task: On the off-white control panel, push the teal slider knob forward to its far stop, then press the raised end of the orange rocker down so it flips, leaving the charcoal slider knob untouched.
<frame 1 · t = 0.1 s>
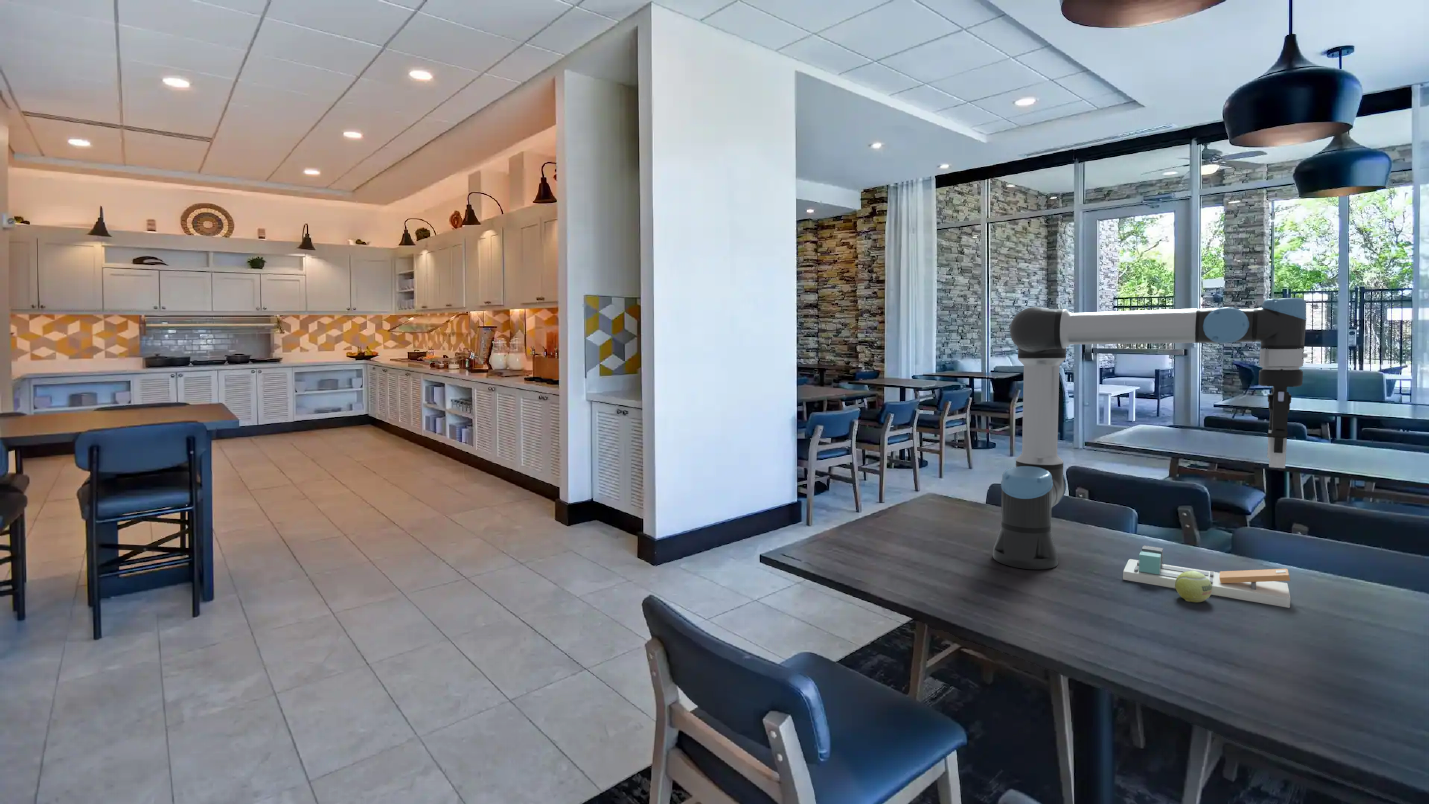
hand: (1275, 463, 153), 28 cm above the table, fingers open, 13 cm apart
teal slider: (1149, 562, 158), point 4 cm above the table, slide at 0.0 cm
tennis ball: (1192, 600, 147), on the table
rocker: (1253, 575, 149), point 4 cm above the table, hinge at -14.0°
panel: (1202, 585, 155), on the table
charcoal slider: (1152, 556, 163), point 4 cm above the table, slide at 0.0 cm
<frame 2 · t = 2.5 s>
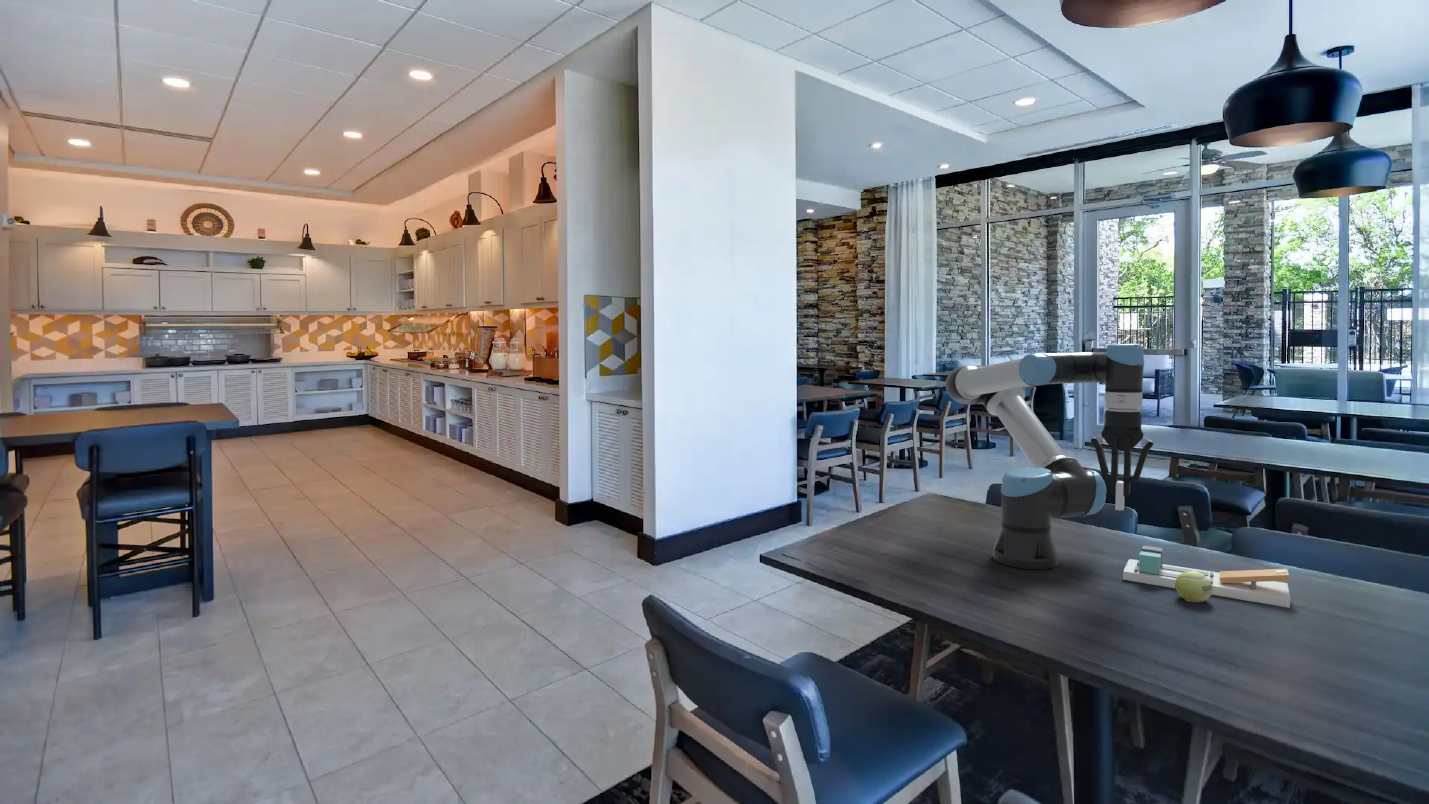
hand: (1119, 508, 161), 16 cm above the table, fingers closed
nothing on the table moved.
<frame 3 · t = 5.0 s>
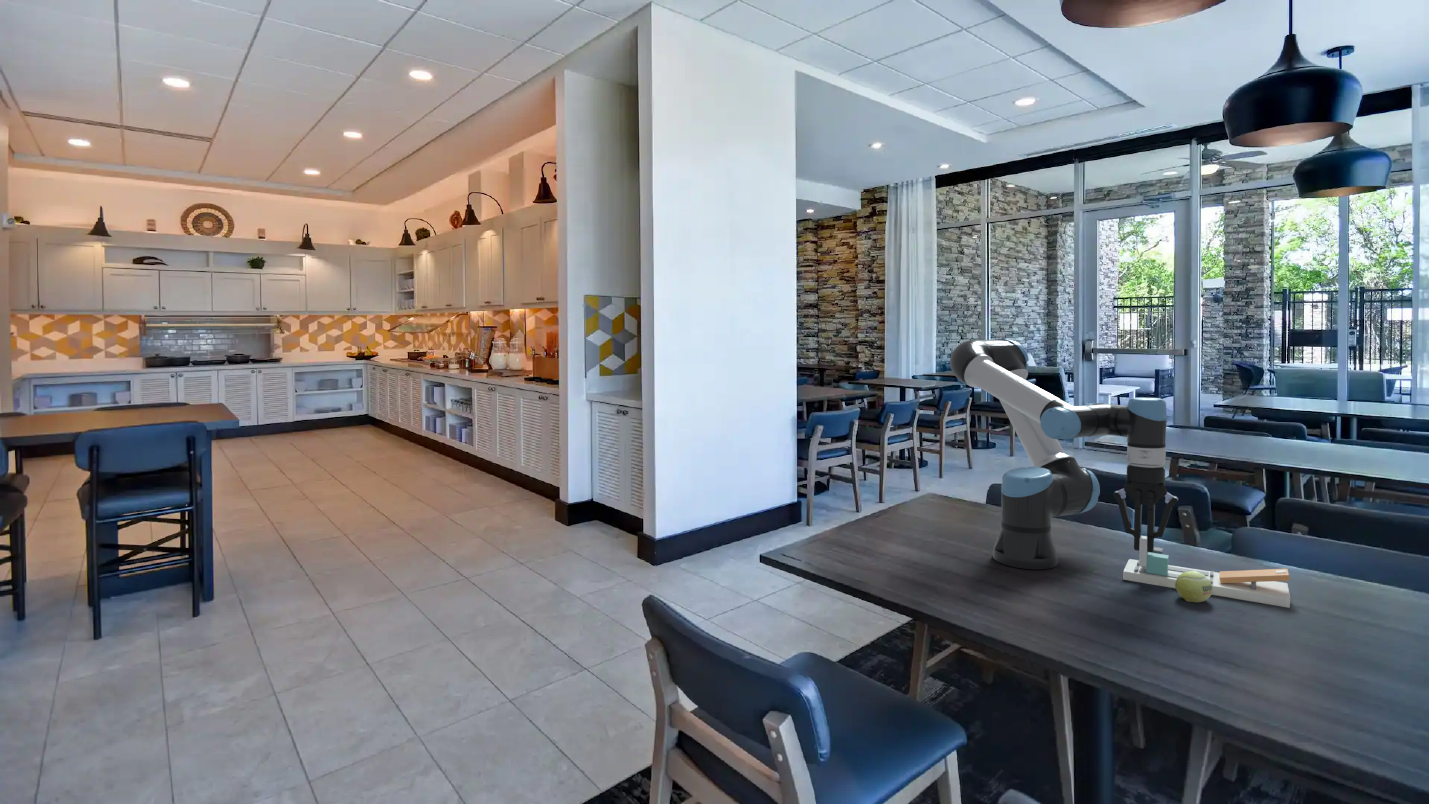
hand: (1143, 564, 159), 4 cm above the table, fingers closed
teal slider: (1157, 563, 158), point 4 cm above the table, slide at 1.5 cm, touching gripper
everything else where it was.
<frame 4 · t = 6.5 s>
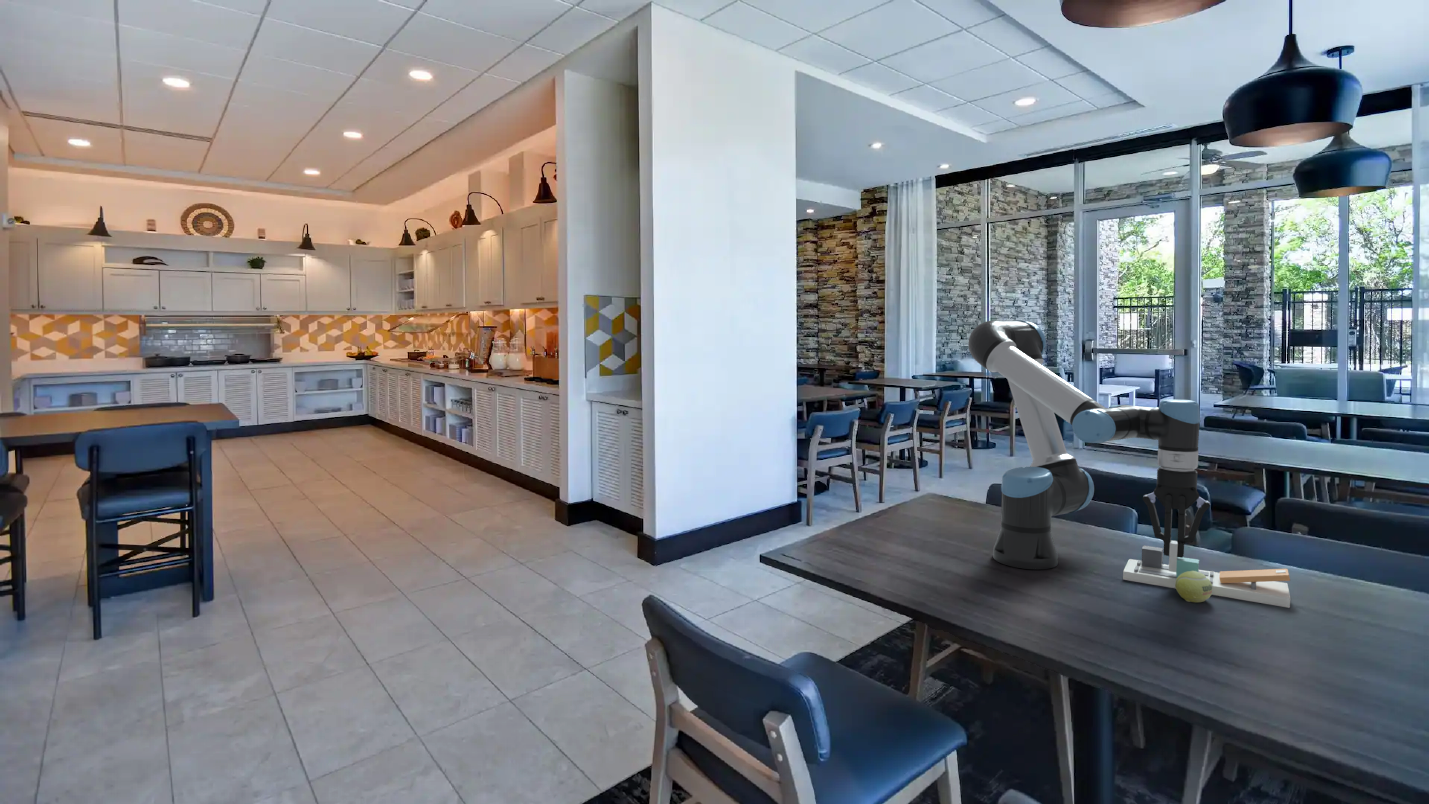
hand: (1172, 570, 156), 3 cm above the table, fingers closed
teal slider: (1187, 568, 154), point 4 cm above the table, slide at 7.2 cm, touching gripper
everything else where it was.
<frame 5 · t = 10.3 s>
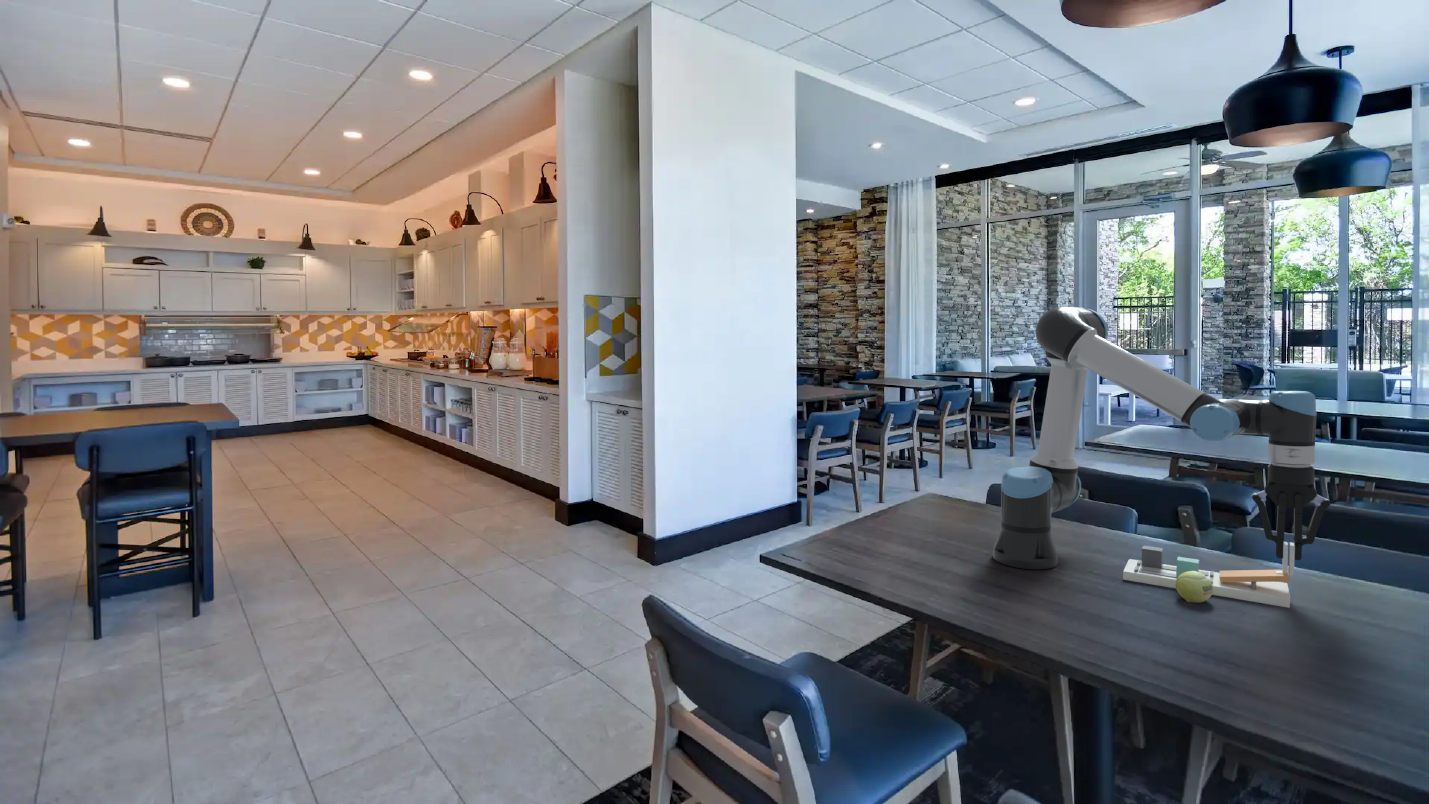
hand: (1288, 573, 145), 6 cm above the table, fingers closed
teal slider: (1187, 568, 154), point 4 cm above the table, slide at 7.2 cm
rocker: (1253, 575, 149), point 4 cm above the table, hinge at -12.2°, touching gripper
everything else where it was.
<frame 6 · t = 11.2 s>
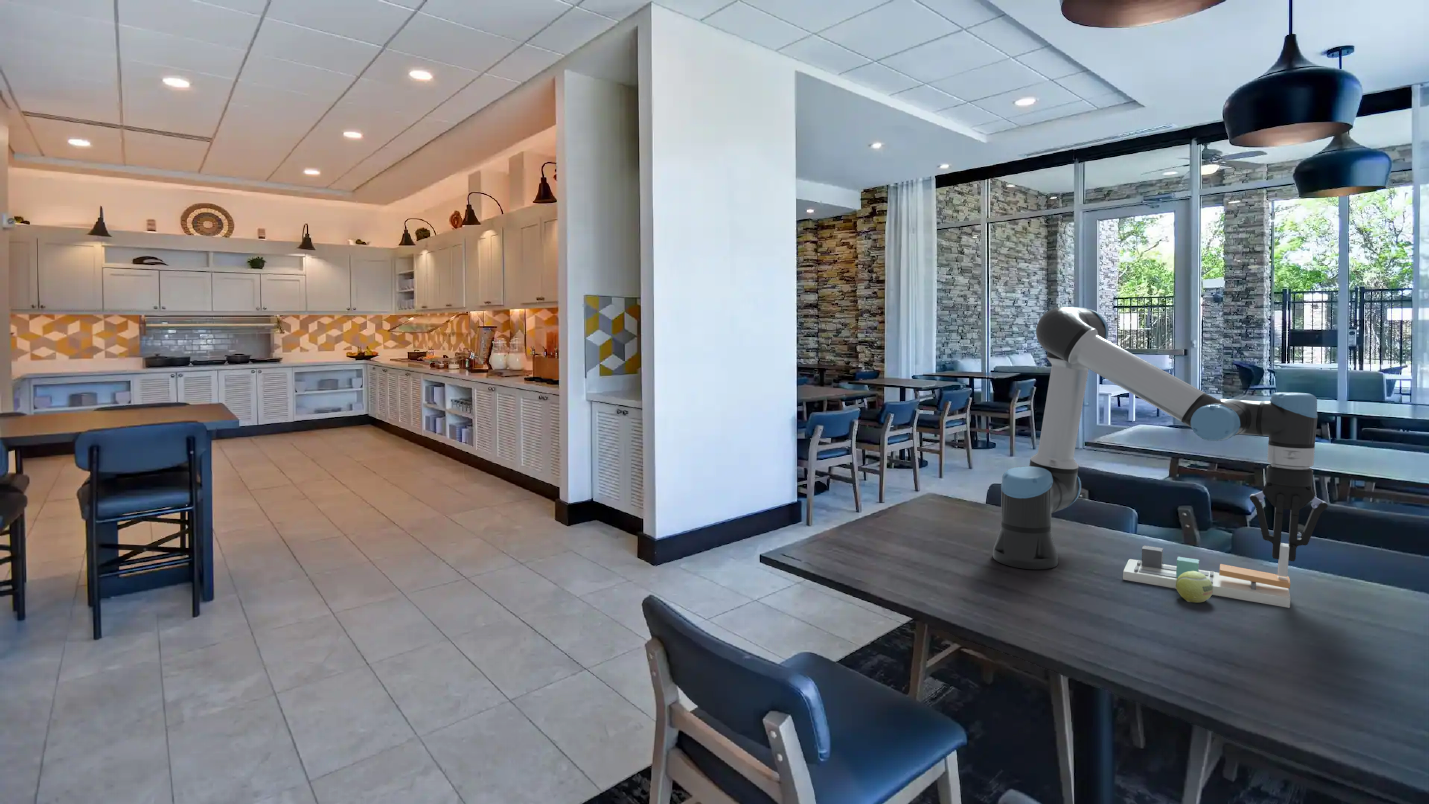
hand: (1282, 574, 146), 5 cm above the table, fingers closed
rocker: (1253, 575, 149), point 4 cm above the table, hinge at 2.9°
everything else where it was.
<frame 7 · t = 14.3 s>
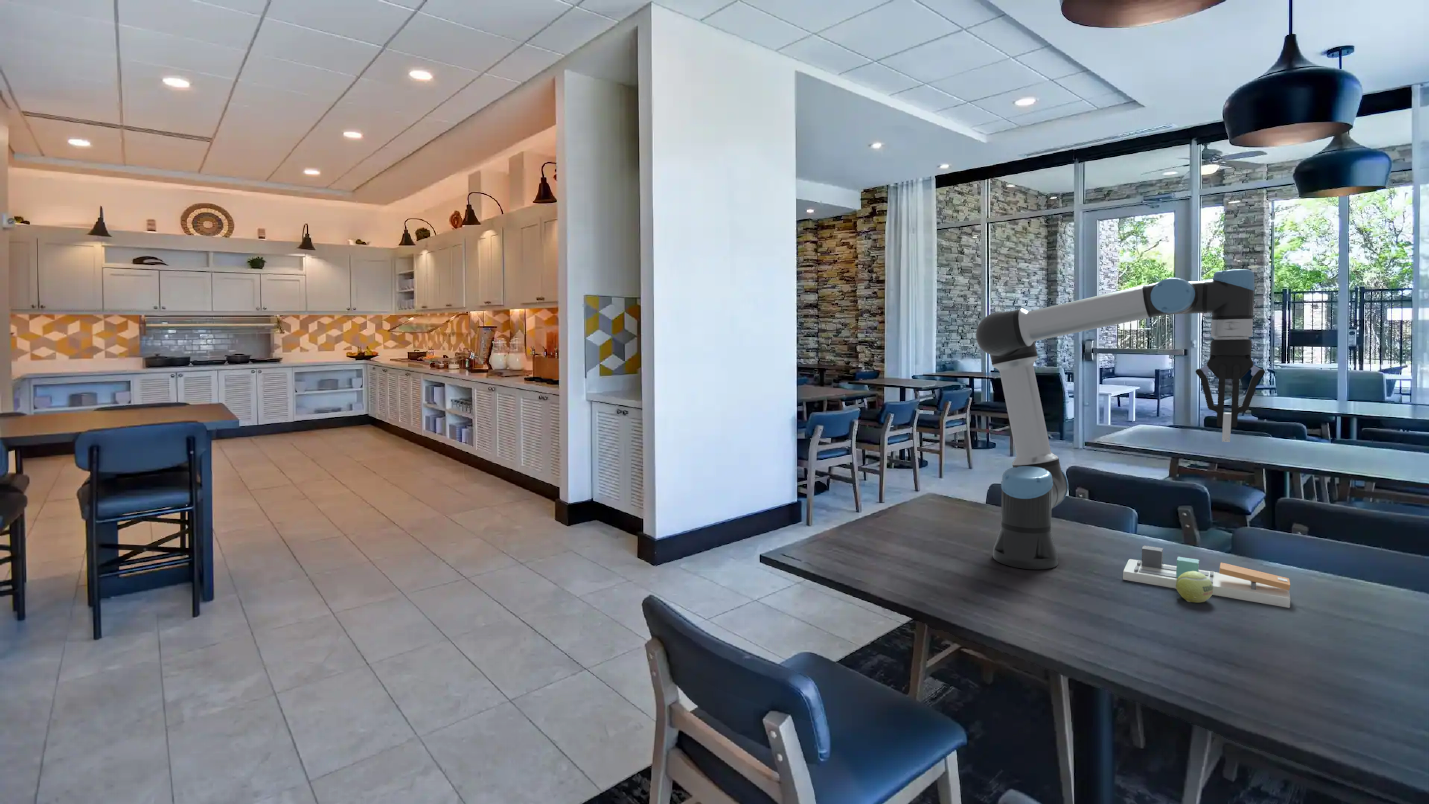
hand: (1226, 441, 157), 32 cm above the table, fingers closed
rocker: (1253, 575, 149), point 4 cm above the table, hinge at 6.5°
everything else where it was.
at the end: teal slider slide at 7.2 cm; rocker at +6° (first picture: -14°); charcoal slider slide at 0.0 cm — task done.
